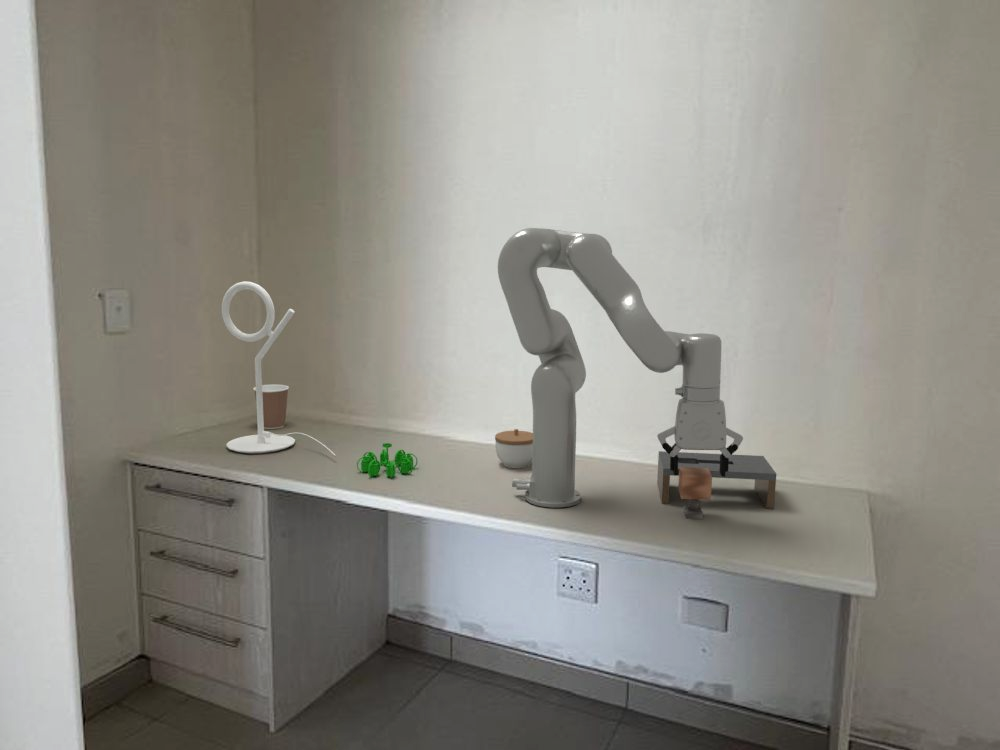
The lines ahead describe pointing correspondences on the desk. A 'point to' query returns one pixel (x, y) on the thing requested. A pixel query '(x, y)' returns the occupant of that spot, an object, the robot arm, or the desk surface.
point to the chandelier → (387, 462)
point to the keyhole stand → (736, 469)
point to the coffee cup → (274, 405)
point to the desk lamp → (258, 372)
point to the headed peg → (694, 489)
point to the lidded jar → (514, 448)
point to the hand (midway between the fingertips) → (698, 474)
